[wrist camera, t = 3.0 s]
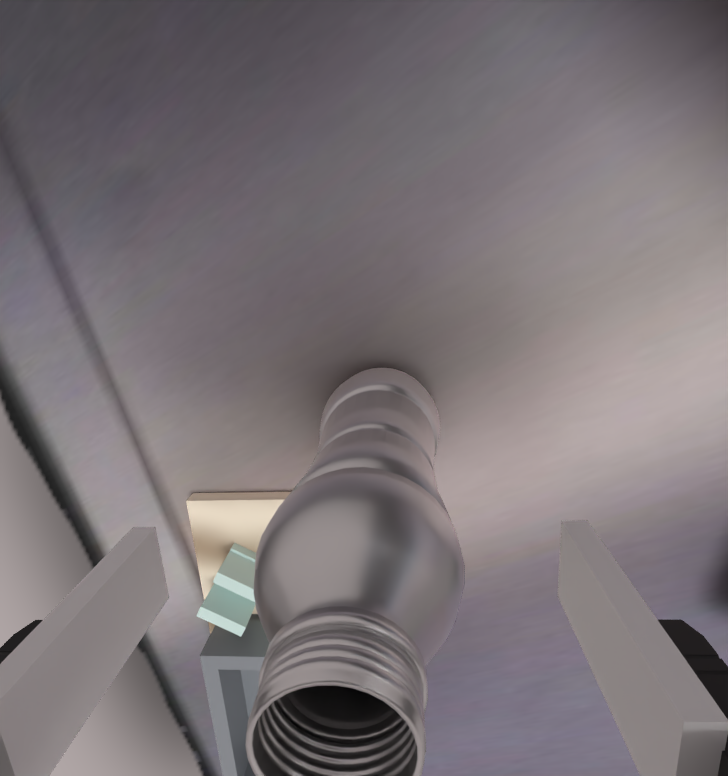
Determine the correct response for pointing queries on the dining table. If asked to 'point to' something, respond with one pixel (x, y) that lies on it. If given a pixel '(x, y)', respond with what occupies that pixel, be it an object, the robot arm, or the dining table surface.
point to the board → (228, 527)
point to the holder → (233, 689)
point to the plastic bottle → (356, 591)
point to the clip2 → (232, 592)
